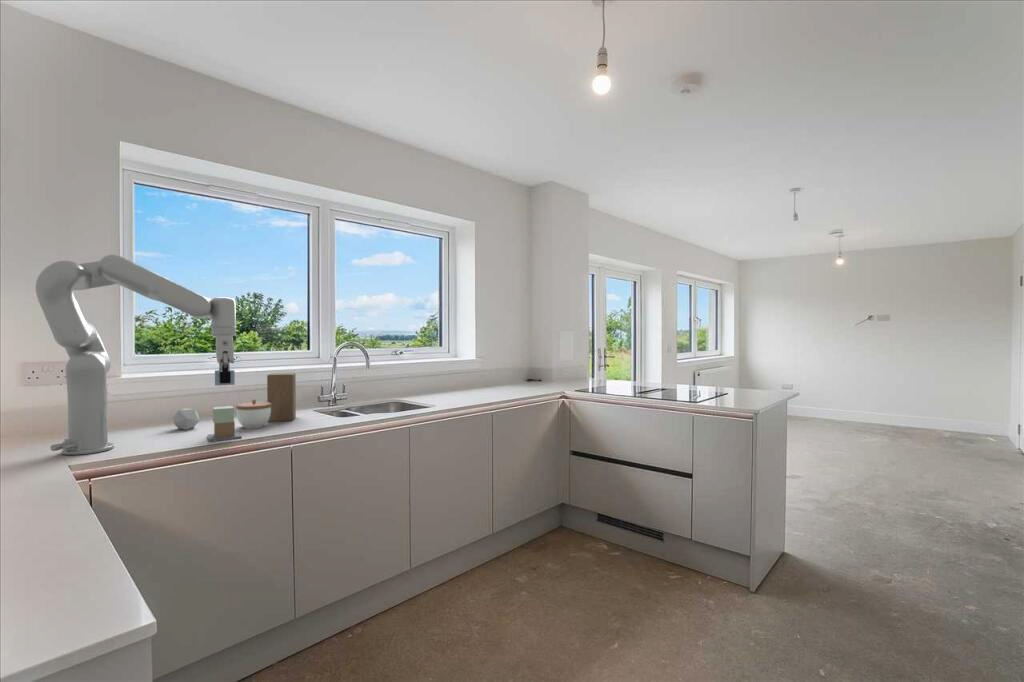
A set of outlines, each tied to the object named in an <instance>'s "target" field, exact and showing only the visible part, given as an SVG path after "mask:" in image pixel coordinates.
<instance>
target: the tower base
mask: <svg viewBox="0 0 1024 682" xmlns="http://www.w3.org/2000/svg"><path fill="white" fill-rule="evenodd" d="M235 426H236V425H235V421H234V422H227V423H215V424H214V423H213V429H214V431H213V433H210V434H207V439H208V440H209V441H211V442H219V441H218V440H221V441H228V440H227V439H230V440H239V439H242V434H241V432H240V430H239V431H236V430H235ZM209 441H208V442H209Z"/></svg>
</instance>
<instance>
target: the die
mask: <svg viewBox="0 0 1024 682" xmlns="http://www.w3.org/2000/svg"><path fill="white" fill-rule="evenodd" d="M172 417H173V424H174V425H175V427H176V428H177V429H178V430H184V431H189V430H190V429H194V428H195V427H196V426H197V424H198V423H199V422H200V417H199V413H198V412H197V411H196V409H194V408H186V407H185V408H183V409H179V410H178V411H177V412H176V413H175V414H174V416H172Z"/></svg>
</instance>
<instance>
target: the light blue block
mask: <svg viewBox="0 0 1024 682" xmlns="http://www.w3.org/2000/svg"><path fill="white" fill-rule="evenodd" d="M220 372H221V370H219V369H216V370H214V386H233V385H234V386H235V378H236V377H235V375H236V373H235V369H230V383H220Z"/></svg>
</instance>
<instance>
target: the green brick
mask: <svg viewBox="0 0 1024 682" xmlns="http://www.w3.org/2000/svg"><path fill="white" fill-rule="evenodd" d="M234 409H235V408H234V406H232V405H226V406H225V405H224V406H223V405H222V406H214V407H212V419H213V420H212V422H213V425H214V424H215V423H227V422H235V417H234V415H235V413H234V411H235V410H234Z"/></svg>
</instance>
